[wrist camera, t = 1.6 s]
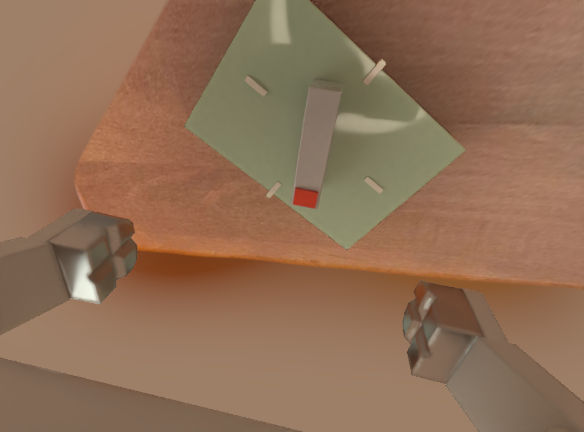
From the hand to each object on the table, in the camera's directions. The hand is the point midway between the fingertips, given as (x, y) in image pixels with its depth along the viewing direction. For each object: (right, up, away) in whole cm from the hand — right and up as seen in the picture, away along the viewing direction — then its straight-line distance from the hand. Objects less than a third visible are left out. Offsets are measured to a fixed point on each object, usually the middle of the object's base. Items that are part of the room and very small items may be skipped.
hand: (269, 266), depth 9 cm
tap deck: (+3, +8, +13) cm, 15 cm away
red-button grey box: (+2, +6, +10) cm, 12 cm away
